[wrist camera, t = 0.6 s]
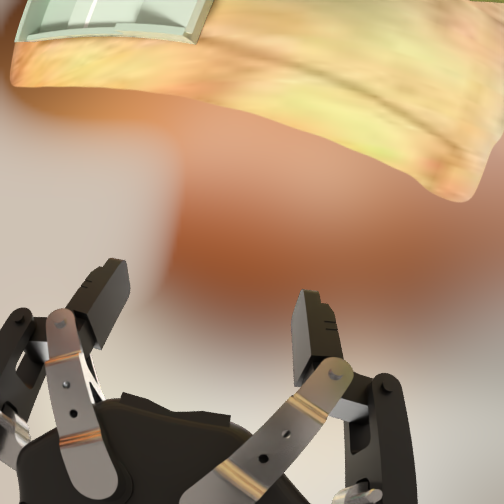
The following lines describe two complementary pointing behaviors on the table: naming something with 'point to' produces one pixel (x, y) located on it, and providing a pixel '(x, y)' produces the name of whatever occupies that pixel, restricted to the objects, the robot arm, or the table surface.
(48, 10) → the lane
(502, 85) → the table surface
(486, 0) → the plant pot
